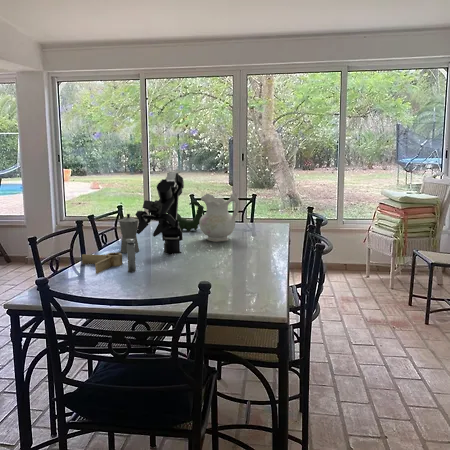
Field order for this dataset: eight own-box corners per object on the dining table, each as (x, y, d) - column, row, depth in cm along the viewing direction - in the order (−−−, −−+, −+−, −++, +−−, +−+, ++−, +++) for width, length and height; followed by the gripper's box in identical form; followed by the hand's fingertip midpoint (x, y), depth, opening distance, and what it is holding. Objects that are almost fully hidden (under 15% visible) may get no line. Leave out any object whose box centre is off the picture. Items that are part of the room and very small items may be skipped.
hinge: (113, 259, 201) (113, 249, 201) (129, 268, 186) (129, 257, 185) (82, 263, 194) (81, 253, 193) (96, 273, 179) (95, 262, 178)
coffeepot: (144, 252, 214) (143, 214, 211) (125, 255, 209) (123, 216, 206) (132, 246, 226) (130, 210, 223) (113, 248, 221) (112, 212, 218)
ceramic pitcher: (241, 238, 250) (241, 193, 248) (238, 243, 231) (238, 194, 229) (202, 238, 253) (202, 193, 250) (196, 242, 233) (196, 194, 231)
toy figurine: (202, 232, 273) (161, 228, 273) (205, 201, 269) (163, 197, 270) (200, 235, 263) (158, 231, 264) (203, 202, 260) (160, 198, 261)
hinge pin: (134, 269, 184) (133, 238, 182) (138, 271, 181) (137, 239, 179) (125, 270, 182) (124, 239, 180) (129, 273, 179) (128, 240, 177)
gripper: (137, 191, 193) (118, 220, 186) (170, 194, 182) (151, 225, 175) (151, 208, 200) (133, 236, 193) (183, 211, 189) (166, 241, 183)
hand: (145, 234), depth 186 cm, fingers open, 9 cm apart
